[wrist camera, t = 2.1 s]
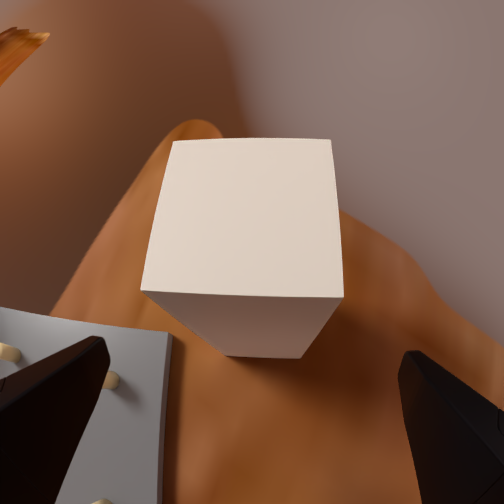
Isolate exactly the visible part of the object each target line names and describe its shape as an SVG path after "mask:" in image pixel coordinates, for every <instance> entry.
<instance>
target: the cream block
mask: <svg viewBox="0 0 504 504" xmlns="http://www.w3.org/2000/svg"><path fill="white" fill-rule="evenodd" d="M140 290H141V291H142V292H143V293H144V294H146V295H147V296H148V297H149V298H151V299H152V300H153V301H154V302H155V303H157V304H158V305H159V306H160V307H162V308H163V309H164V310H165V311H167V312H168V313H169V314H170V315H172V316H173V317H174V318H176V319H177V320H178V321H179V322H181V323H182V324H183V325H185V326H186V327H187V328H188V329H190V330H191V331H192V332H194V333H195V334H196V335H198V336H199V337H200V338H202V339H203V340H204V341H206V342H207V343H208V344H210V345H211V346H213V347H214V348H215V349H217V350H218V351H219V352H221V353H222V354H224V355H225V356H239V357H260V358H296V359H300V358H301V357H302V356H303V354H304V353H305V351H306V350H307V349H308V347H309V346H310V345H311V343H312V342H313V341H314V339H315V338H316V336H317V335H318V334H319V332H320V331H321V329H322V328H323V327H324V325H325V324H326V322H327V321H328V320H329V318H330V317H331V315H332V314H333V312H334V311H335V309H336V308H337V307H338V305H339V304H340V302H341V301H342V299H343V298H344V292H343V270H342V252H341V237H340V224H339V212H338V201H337V191H336V181H335V172H334V164H333V156H332V148H331V141H330V140H324V139H296V138H233V139H204V140H186V141H174V142H173V145H172V149H171V152H170V156H169V160H168V164H167V167H166V171H165V175H164V179H163V183H162V187H161V191H160V196H159V200H158V204H157V208H156V213H155V217H154V222H153V226H152V231H151V236H150V241H149V246H148V251H147V256H146V261H145V267H144V272H143V278H142V283H141V289H140Z"/></svg>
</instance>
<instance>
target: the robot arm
mask: <svg viewBox="0 0 504 504" xmlns="http://www.w3.org/2000/svg"><path fill="white" fill-rule="evenodd" d="M110 363H111V358H110V354H109V351H108V348H107V345H106V341H105V339H104V338H103V337H101V336H94V335H92V336H89V337H87V338H85V339H83V340H81V341H79V342H77V343H75V344H73V345H71V346H69V347H66V348H64V349H62V350H60V351H58V352H56V353H54V354H52V355H50V356H48V357H46V358H44V359H42V360H40V361H37V362H35V363H33V364H31V365H29V366H27V367H25V368H23V369H21V370H19V371H17V372H15V373H13V374H11V375H8V376H7V377H4V378H2V379H0V504H55V502H56V500H57V497H58V494H59V492H60V489H61V487H62V484H63V481H64V479H65V476H66V474H67V471H68V469H69V466H70V464H71V462H72V459H73V457H74V454H75V452H76V450H77V447H78V445H79V443H80V440H81V438H82V436H83V433H84V431H85V429H86V426H87V424H88V422H89V420H90V417H91V415H92V413H93V411H94V409H95V406H96V404H97V401H98V399H99V396H100V393H101V390H102V387H103V384H104V381H105V378H106V375H107V372H108V370H109V367H110ZM398 383H399V389H400V396H401V403H402V410H403V417H404V423H405V427H406V431H407V435H408V440H409V444H410V448H411V452H412V457H413V461H414V466H415V470H416V475H417V480H418V485H419V490H420V495H421V501H422V504H504V411H502V410H501V409H498V407H497V406H495V405H494V404H493V403H491V402H490V401H489V400H487V399H486V398H484V397H483V396H482V395H480V394H479V393H478V392H476V391H475V390H473V389H472V388H471V387H469V386H468V385H467V384H465V383H464V382H462V381H461V380H460V379H458V378H457V377H455V376H454V375H453V374H451V373H450V372H449V371H447V370H446V369H444V368H443V367H442V366H440V365H439V364H437V363H436V362H435V361H433V360H432V359H430V358H429V357H428V356H426V355H425V354H423V353H422V352H421V351H419V350H412V351H407V352H405V354H404V356H403V359H402V363H401V366H400V369H399V372H398Z"/></svg>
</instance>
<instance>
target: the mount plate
mask: <svg viewBox="0 0 504 504" xmlns="http://www.w3.org/2000/svg"><path fill="white" fill-rule="evenodd" d="M92 335H94V336H101V337H103V338H104V339H105V341H106V345H107V348H108V351H109V354H110V358H111V363H110V367H109V370H108V372H107V375H106V378H105V381H104V384H103V387H102V390H101V393H100V396H99V399H98V401H97V404H96V406H95V409H94V411H93V413H92V415H91V417H90V420H89V422H88V424H87V426H86V429H85V431H84V433H83V436H82V438H81V440H80V443H79V445H78V447H77V450H76V452H75V454H74V457H73V459H72V462H71V464H70V466H69V469H68V471H67V474H66V476H65V479H64V481H63V484H62V487H61V489H60V492H59V494H58V497H57V500H56V502H55V504H162V486H163V457H164V437H165V420H166V406H167V393H168V381H169V370H170V359H171V349H172V340H173V335H172V334H170V333H168V332H160V331H150V330H141V329H132V328H124V327H116V326H108V325H101V324H94V323H87V322H80V321H74V320H67V319H61V318H55V317H50V316H44V315H38V314H33V313H28V312H22V311H18V310H13V309H8V308H3V307H0V379H2V378H4V377H7V376H8V375H11V374H13V373H15V372H17V371H19V370H21V369H23V368H25V367H27V366H29V365H31V364H33V363H35V362H37V361H40V360H42V359H44V358H46V357H48V356H50V355H52V354H54V353H56V352H58V351H60V350H62V349H64V348H66V347H69V346H71V345H73V344H75V343H77V342H79V341H81V340H83V339H85V338H87V337H89V336H92Z"/></svg>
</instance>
